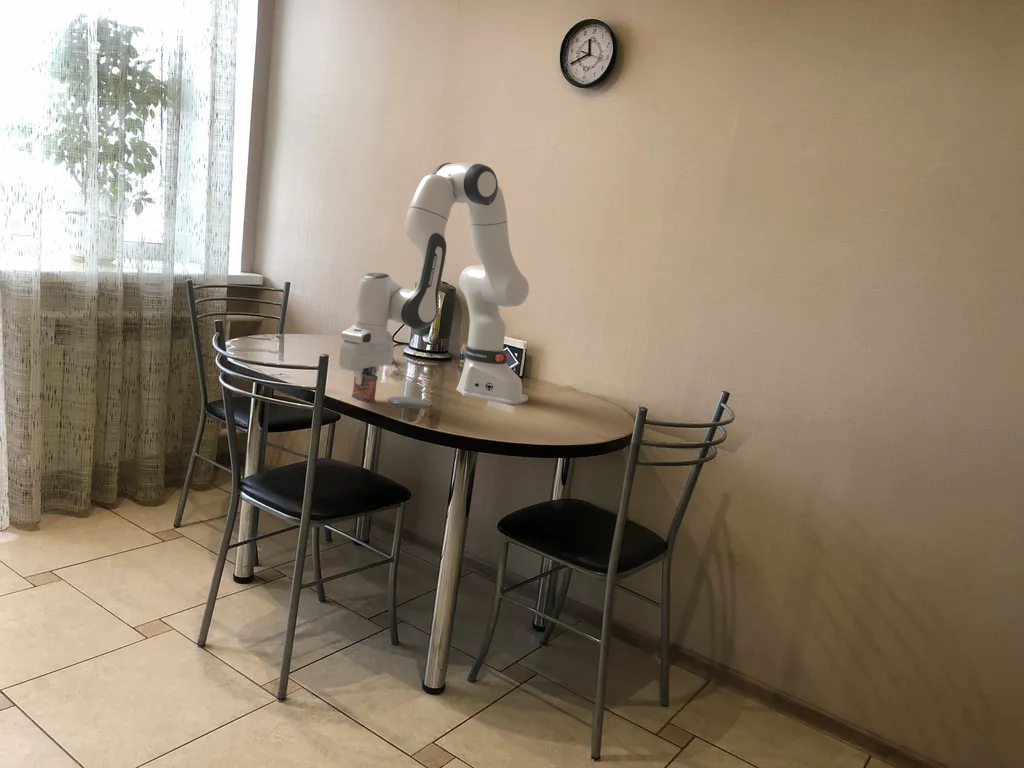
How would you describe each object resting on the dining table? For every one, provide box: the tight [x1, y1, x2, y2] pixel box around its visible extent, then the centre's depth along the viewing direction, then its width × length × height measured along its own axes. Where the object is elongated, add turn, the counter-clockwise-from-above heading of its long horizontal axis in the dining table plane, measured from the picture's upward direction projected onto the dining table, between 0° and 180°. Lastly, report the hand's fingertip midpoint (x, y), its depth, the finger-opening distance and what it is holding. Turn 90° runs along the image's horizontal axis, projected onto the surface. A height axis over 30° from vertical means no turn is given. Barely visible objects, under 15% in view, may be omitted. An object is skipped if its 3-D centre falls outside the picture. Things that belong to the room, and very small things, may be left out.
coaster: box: [387, 395, 432, 410], centre depth 221 cm, size 12×12×1 cm
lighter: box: [351, 367, 379, 404], centre depth 217 cm, size 8×3×10 cm, turn 53°
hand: (365, 383), depth 217 cm, fingers closed on lighter, 4 cm apart
